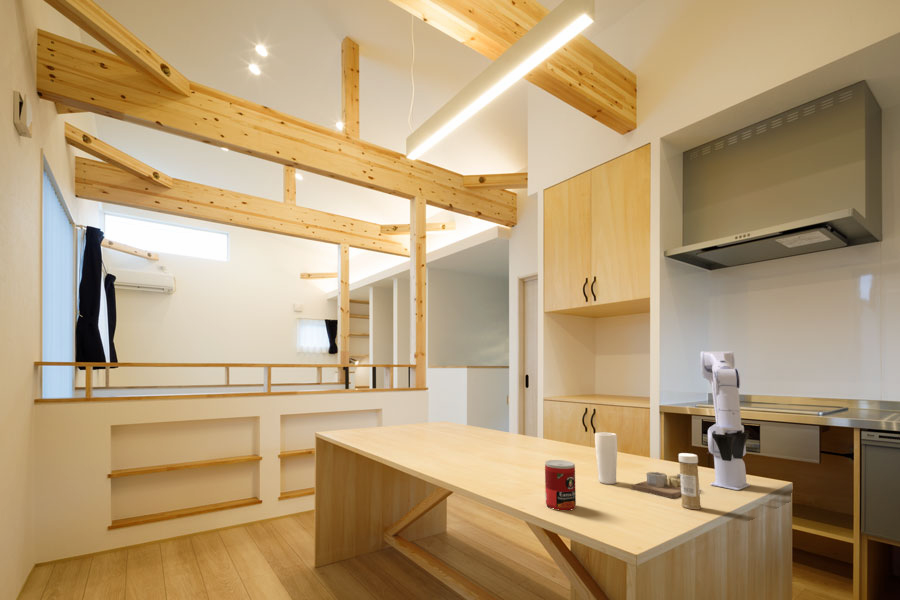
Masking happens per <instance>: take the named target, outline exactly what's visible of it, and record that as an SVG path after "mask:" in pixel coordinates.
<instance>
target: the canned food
mask: <svg viewBox="0 0 900 600" xmlns="http://www.w3.org/2000/svg"><path fill="white" fill-rule="evenodd" d="M544 483H545V504H546V506H547V507H548V506H549V507H550V508H549V507H548V508H549V509H551V508H554V509H559V510H570V511H572V510H571V509H573V510H575V508H576V504H577V502H576V501H577V500H576V499H577V497H576V496H577V495H576V466H575V463H574V462H572V461H569V460H564V459H550V460H546V461H545V462H544ZM554 509H553V510H554ZM559 510H558V511H559Z"/></svg>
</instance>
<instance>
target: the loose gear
mask: <svg viewBox="0 0 900 600" xmlns="http://www.w3.org/2000/svg"><path fill="white" fill-rule="evenodd" d="M654 474H658V475H654ZM667 479H668V475H667V474H666V473H663V472H657V471H656V472H655V471H650V472H646V481H647V484H648V485H649V486H652V487H660V488H665V487H668V484H667Z"/></svg>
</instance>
